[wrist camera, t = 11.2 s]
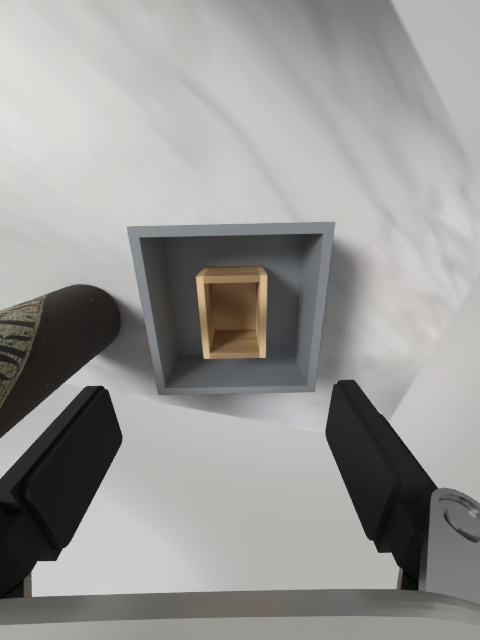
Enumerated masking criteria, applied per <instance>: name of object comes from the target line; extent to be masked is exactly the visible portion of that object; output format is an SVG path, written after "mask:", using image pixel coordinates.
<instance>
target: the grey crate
mask: <svg viewBox="0 0 480 640" xmlns="http://www.w3.org/2000/svg"><path fill="white" fill-rule="evenodd" d="M334 227H335V222H310V223H266V224H222V225H178V226H134V227H127V231H128V236H129V241H130V246H131V252H132V257H133V262H134V268H135V273H136V278H137V284H138V289H139V294H140V300H141V305H142V310H143V315H144V321H145V326H146V331H147V337H148V342H149V347H150V353H151V358H152V363H153V369H154V374H155V379H156V385H157V390H158V395H176V394H232V393H288V392H315V383H316V375H317V367H318V359H319V350H320V342H321V334H322V326H323V317H324V309H325V301H326V293H327V285H328V276H329V268H330V260H331V252H332V243H333V235H334ZM226 265H262V267H263V269H264V270H265V272H266V274H267V316H266V358H229V359H204V356H203V346H202V335H201V325H200V314H199V304H198V293H197V283H196V276H197V275H198V274H199V273H200V272H201V271H202V270H203V268H204V267H205V266H226Z"/></svg>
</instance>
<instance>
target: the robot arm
mask: <svg viewBox="0 0 480 640" xmlns="http://www.w3.org/2000/svg"><path fill="white" fill-rule="evenodd" d="M326 439H327V442H328V444H329V446H330V449H331V451H332V454H333V456H334V459H335V461H336V463H337V466H338V468H339V471H340V473H341V476H342V478H343V480H344V483H345V485H346V488H347V490H348V493H349V495H350V497H351V500H352V502H353V505H354V507H355V510H356V512H357V515H358V517H359V519H360V522H361V524H362V527H363V529H364V532H365V534H366V536H367V538H368V539H369V540H373V541H374V544H375V546H376V548H377V551H378V553H387V552H388V553H389V552H392V555H393V556H394V559H395V561H396V563H397V565H398V566H399V574H398V581H397V589H391V590H390V589H380V590H379V589H325V590H324V589H323V590H273V591H225V592H185V593H149V594H148V593H146V594H112V595H80V596H48V597H32V589H31V588H32V586H31V585H32V583H31V582H32V581H31V571H32V570H33V568H34V566H35V564H36V563H37V561H56V560H57V558H58V556H59V555H60V553H61V551H62V549H63V548H65V547H66V546H67V545H68V544H69V543H70V541H71V540H72V538H73V536H74V534H75V532H76V530H77V528H78V526H79V524H80V522H81V520H82V518H83V517H84V515H85V513H86V511H87V509H88V507H89V505H90V503H91V501H92V499H93V497H94V496H95V493H96V492H97V489H98V488H99V486H100V484H101V482H102V480H103V478H104V476H105V474H106V472H107V470H108V469H109V467H110V465H111V463H112V461H113V459H114V457H115V455H116V453H117V451H118V449H119V448H120V446H121V443H122V433H121V430H120V427H119V423H118V420H117V417H116V414H115V411H114V407H113V404H112V401H111V398H110V394H109V392H108V390H107V389H105V388H104V387H103V386H87V387H85V388H84V389H83V390H82V391H81V392H80V393H79V394H78V395H77V396H76V397H75V399H74V400H73V401H72V402H71V403H70V404H69V405H68V406H67V407H66V408H65V410H64V411H63V412H62V413H61V414H60V415H59V416H58V417H57V418H56V419H55V420H54V421H53V422H52V424H51V425H50V426H49V427H48V428H47V429H46V430H45V431H44V432H43V433H42V434H41V435H40V437H39V438H38V439H37V440H36V441H35V442H34V443H33V444H32V445H31V446H30V447H29V449H28V450H27V451H26V452H25V453H24V454H23V455H22V456H21V457H20V458H19V459H18V461H16V463H15V464H14V465H13V466H12V467H11V468H10V469H9V470H8V471H7V472H6V474H5V475H4V476H3V477H2V478H1V479H0V640H480V503H478V502H477V501H476V500H474V499H473V498H471V497H469V496H468V495H466V494H464V493H462V492H459V491H457V490H454V489H449V488H439V489H438V488H437V486H436V485H435V484H434V482H433V481H432V480H431V478H430V477H429V476H428V474H427V473H426V472H425V471H424V469H423V468H422V467H421V465H420V464H419V463H418V461H417V460H416V459H415V457H414V456H413V455H412V453H411V452H410V450H409V449H408V448H407V446H406V445H405V444H404V443H403V441H402V440H401V439H400V437H399V436H398V434H397V433H396V432H395V431H394V429H393V428H392V427H391V425H390V424H389V423H388V421H387V420H386V419H385V417H384V416H383V415H381V414H380V413H379V412H378V411H377V410H376V408H375V407H374V406H373V404H372V403H371V402H370V400H369V399H368V398H367V396H366V395H365V394H364V392H363V391H362V390H361V388H360V387H359V385H358V384H357V383H356V382H355V381H354V380H339V381H338V382H337V384H334V386H333V391H332V396H331V402H330V408H329V414H328V419H327V425H326Z"/></svg>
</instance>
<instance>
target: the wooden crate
mask: <svg viewBox="0 0 480 640" xmlns="http://www.w3.org/2000/svg"><path fill="white" fill-rule="evenodd" d="M196 283H197V293H198V304H199V314H200V325H201V335H202V346H203V356H204V359H229V358H266V316H267V274H266V272H265V270H264V269H263V267H262V265H226V266H205V267H204V268H203V270H202V271H201V272H200V273H199V274H198V275H197V276H196Z"/></svg>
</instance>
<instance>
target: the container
mask: <svg viewBox="0 0 480 640" xmlns="http://www.w3.org/2000/svg"><path fill="white" fill-rule="evenodd" d="M119 329H120V315H119V312H118V309H117V307H116V305H115V303H114V302H113V300H112V299H111V298H110V297H109V296H108V295H107V294H106V293H105V292H103V291H102V290H100V289H98V288H96V287H94V286H90V285H81V284H79V285H72V286H69V287H66V288H62V289H60V290H57V291H54V292H51V293H48V294H46V295H43V296H40V297H38V298H35V299H32V300H29V301H26V302H24V303H21V304H18V305H15V306H12V307H10V308H7V309H4V310H1V311H0V438H1V437H2V436H3V435H4V434H6V433H7V432H8V431H9V430H10V429H11V428H13V427H14V426H15V425H16V424H17V423H18V422H19V421H21V420H22V419H23V418H24V417H25V416H26V415H27V414H29V413H30V412H31V411H32V410H33V409H34V408H35V407H37V406H38V405H39V404H40V403H41V402H42V401H44V400H45V399H46V398H47V397H48V396H49V395H50V394H51V393H53V392H54V391H55V390H56V389H57V388H59V387H60V386H61V385H62V384H63V383H64V382H66V381H67V380H68V379H69V378H70V377H71V376H73V375H74V374H75V373H76V372H77V371H79V370H80V369H81V368H82V367H83V366H84V365H86V364H87V363H88V362H89V361H90V360H91V359H93V358H94V357H95V356H96V355H98V354H99V353H100V352H101V351H102V350H104V349H105V348H106V347H107V346H108V345H109V344H110V343H111V342H112V341H113V340H114V339H115V338H116V336H117V335H118V332H119Z"/></svg>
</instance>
